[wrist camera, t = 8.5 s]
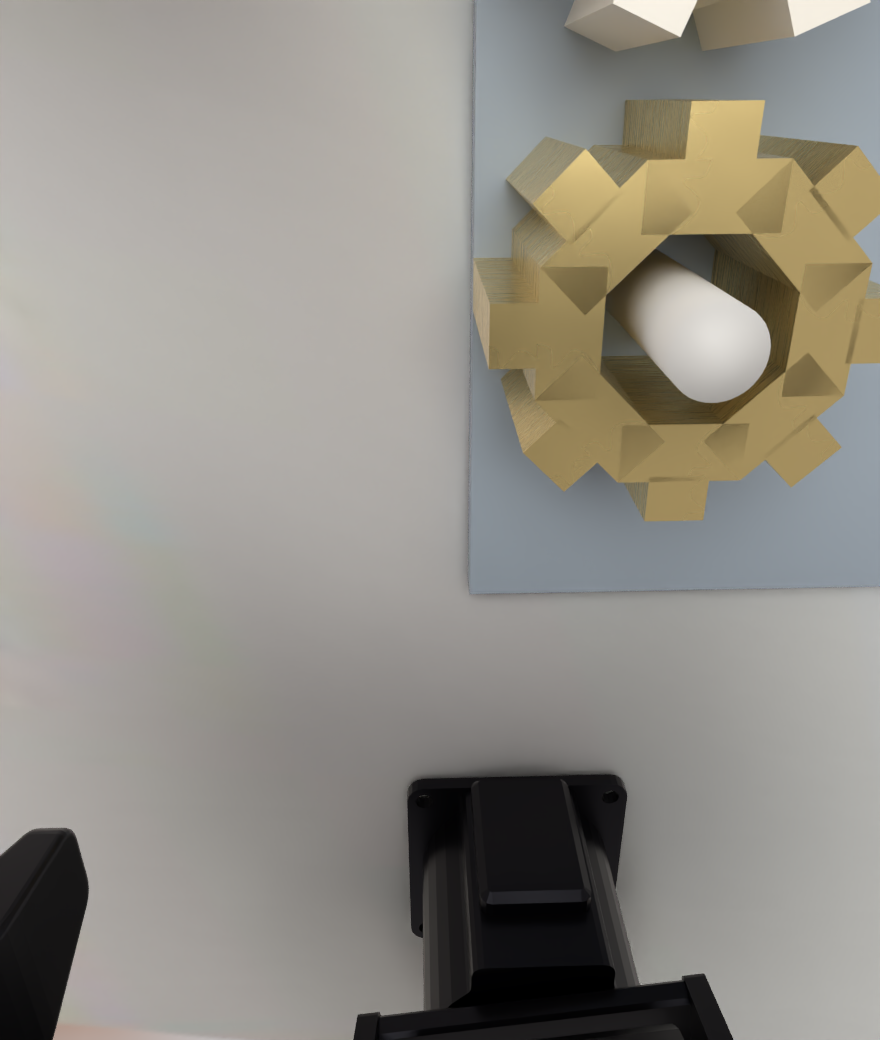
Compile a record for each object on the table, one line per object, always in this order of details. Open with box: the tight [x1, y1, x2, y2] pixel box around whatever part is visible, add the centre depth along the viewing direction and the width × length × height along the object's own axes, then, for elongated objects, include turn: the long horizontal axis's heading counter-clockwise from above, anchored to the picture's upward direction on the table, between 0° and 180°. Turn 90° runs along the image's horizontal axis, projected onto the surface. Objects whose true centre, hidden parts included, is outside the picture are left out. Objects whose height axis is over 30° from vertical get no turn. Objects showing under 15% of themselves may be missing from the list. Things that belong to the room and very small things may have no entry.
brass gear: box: [473, 99, 880, 521], centre depth 16 cm, size 7×7×4 cm
